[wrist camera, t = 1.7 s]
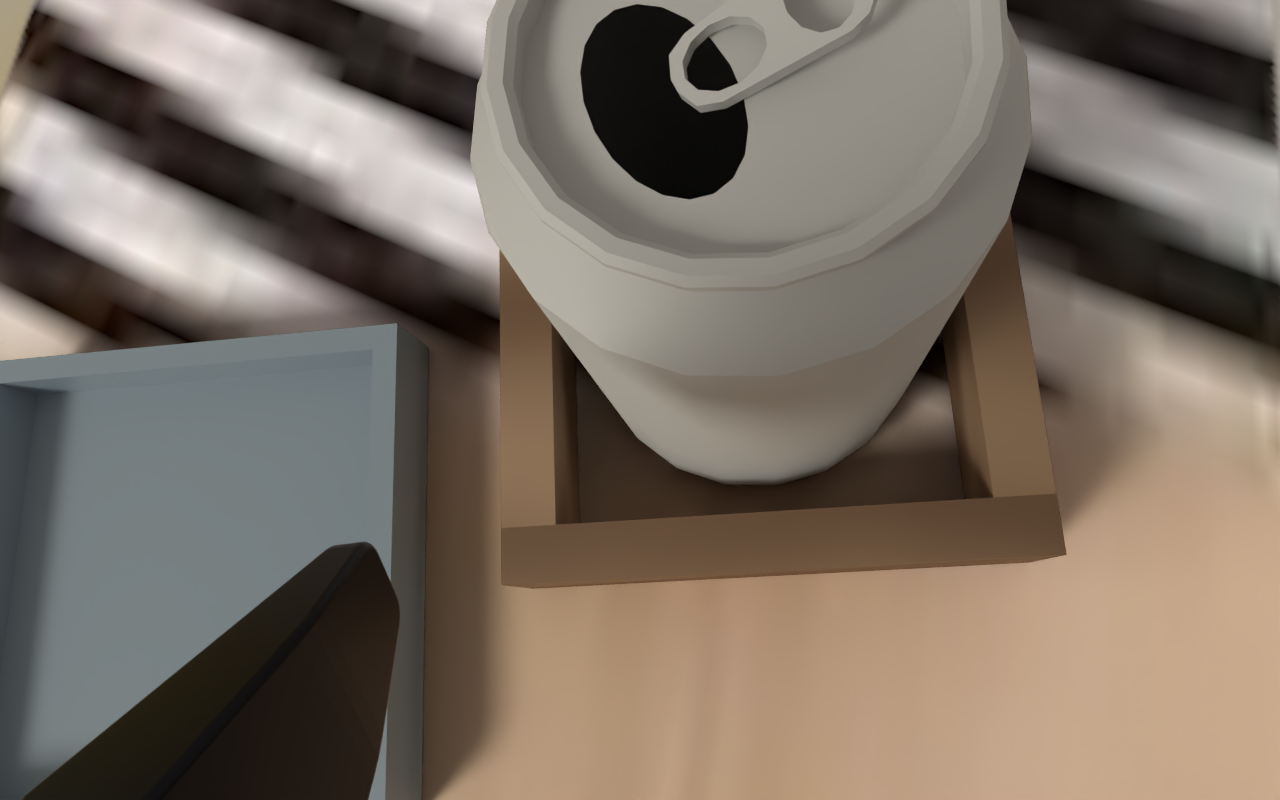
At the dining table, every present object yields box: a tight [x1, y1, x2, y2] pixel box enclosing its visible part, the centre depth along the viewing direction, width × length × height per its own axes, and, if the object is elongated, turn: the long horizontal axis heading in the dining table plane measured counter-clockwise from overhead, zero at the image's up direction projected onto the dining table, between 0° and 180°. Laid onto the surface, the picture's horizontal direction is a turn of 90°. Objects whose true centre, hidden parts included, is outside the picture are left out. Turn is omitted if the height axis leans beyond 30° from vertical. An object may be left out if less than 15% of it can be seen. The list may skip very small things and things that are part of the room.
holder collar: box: [500, 213, 1066, 589], centre depth 20 cm, size 11×11×2 cm
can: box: [470, 0, 1032, 486], centre depth 16 cm, size 8×8×12 cm
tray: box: [0, 323, 429, 800], centre depth 21 cm, size 11×11×2 cm
